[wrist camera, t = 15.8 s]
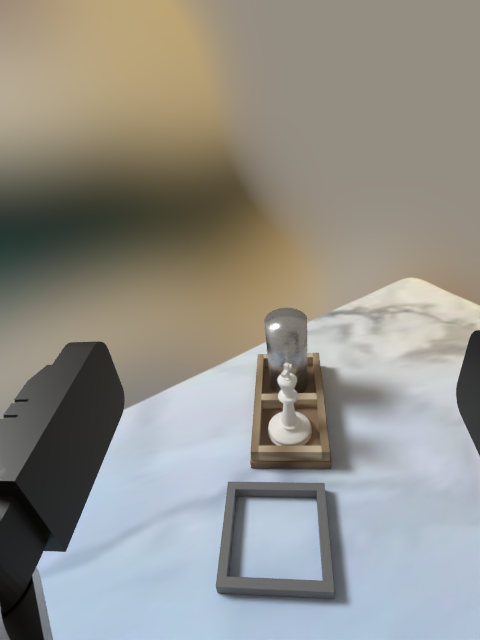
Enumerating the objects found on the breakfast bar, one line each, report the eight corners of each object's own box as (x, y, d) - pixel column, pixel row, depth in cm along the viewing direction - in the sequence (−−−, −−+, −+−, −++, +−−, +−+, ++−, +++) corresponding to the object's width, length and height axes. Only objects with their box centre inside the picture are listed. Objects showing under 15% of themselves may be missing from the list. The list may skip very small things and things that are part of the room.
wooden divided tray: (319, 365, 56) (319, 351, 54) (330, 468, 43) (331, 453, 41) (258, 367, 57) (256, 353, 55) (251, 468, 44) (249, 453, 42)
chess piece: (318, 422, 47) (318, 355, 41) (301, 455, 43) (300, 388, 38) (278, 409, 49) (274, 344, 43) (260, 439, 46) (252, 373, 40)
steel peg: (306, 370, 54) (305, 307, 48) (308, 396, 50) (307, 331, 44) (270, 370, 55) (265, 308, 49) (269, 397, 51) (263, 333, 45)
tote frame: (324, 490, 41) (324, 483, 40) (334, 598, 33) (334, 592, 33) (229, 488, 42) (228, 481, 42) (217, 592, 34) (215, 586, 34)
